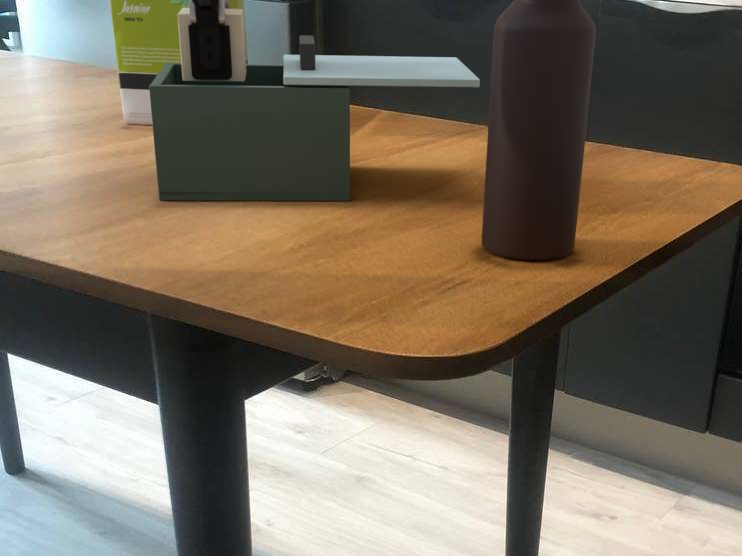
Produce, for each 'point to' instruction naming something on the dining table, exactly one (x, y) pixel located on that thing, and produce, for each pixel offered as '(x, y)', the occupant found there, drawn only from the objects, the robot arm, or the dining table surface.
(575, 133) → the bottle
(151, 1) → the tea box
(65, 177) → the dining table surface
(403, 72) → the sliding lid with knob
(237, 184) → the open storage box
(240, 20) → the block
